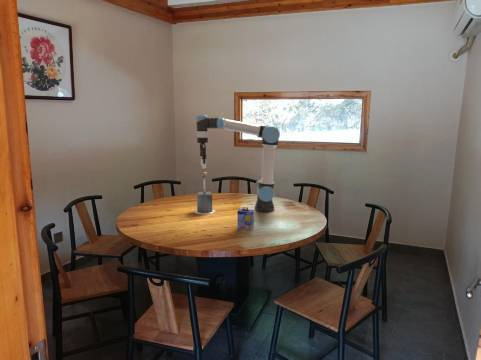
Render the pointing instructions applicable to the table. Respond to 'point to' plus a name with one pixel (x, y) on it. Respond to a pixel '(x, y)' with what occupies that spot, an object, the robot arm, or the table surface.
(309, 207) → the table surface
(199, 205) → the grey piece
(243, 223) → the ink cartridge box
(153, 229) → the table surface
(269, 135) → the robot arm
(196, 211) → the trivet
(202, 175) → the plunger
